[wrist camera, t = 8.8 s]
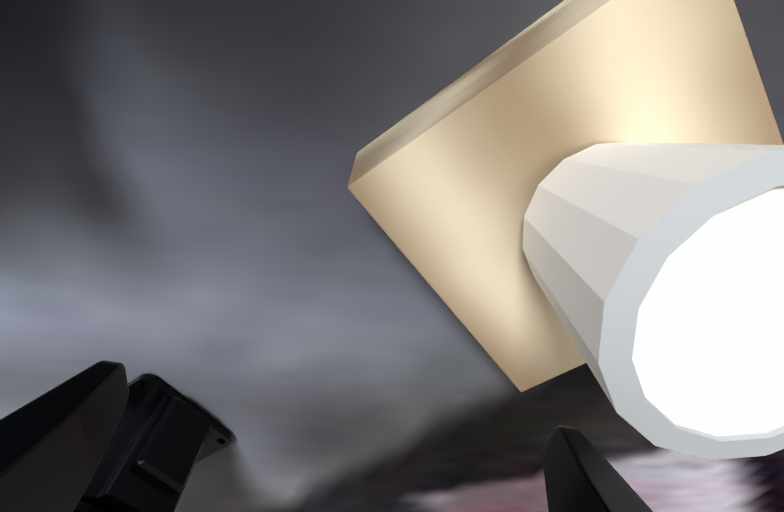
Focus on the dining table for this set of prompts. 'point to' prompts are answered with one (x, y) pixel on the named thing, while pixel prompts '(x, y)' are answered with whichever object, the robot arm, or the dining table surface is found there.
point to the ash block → (549, 150)
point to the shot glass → (672, 286)
